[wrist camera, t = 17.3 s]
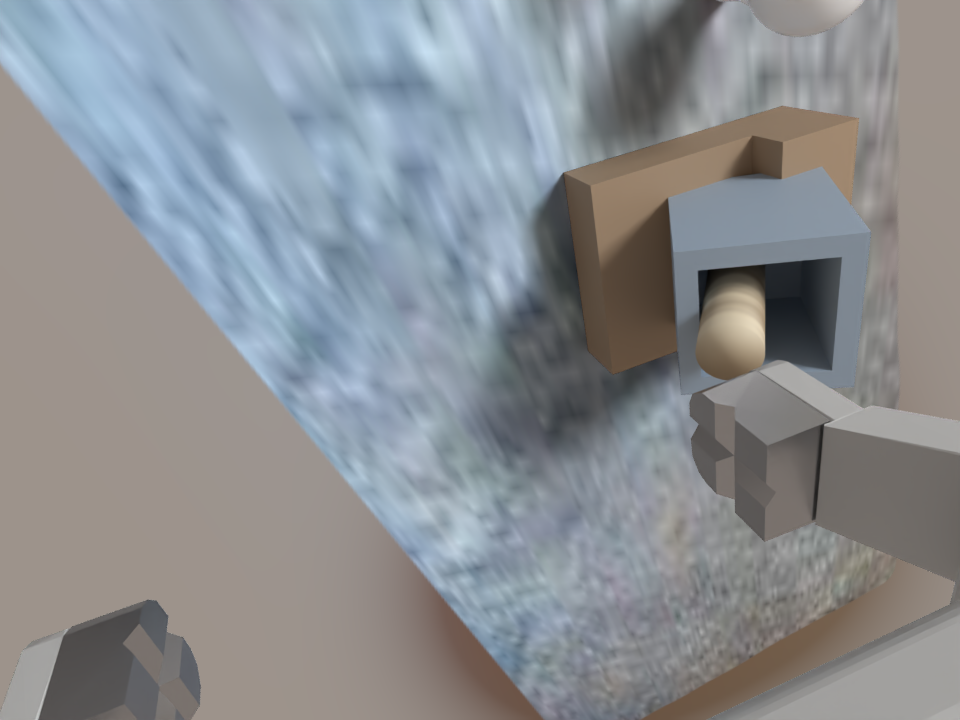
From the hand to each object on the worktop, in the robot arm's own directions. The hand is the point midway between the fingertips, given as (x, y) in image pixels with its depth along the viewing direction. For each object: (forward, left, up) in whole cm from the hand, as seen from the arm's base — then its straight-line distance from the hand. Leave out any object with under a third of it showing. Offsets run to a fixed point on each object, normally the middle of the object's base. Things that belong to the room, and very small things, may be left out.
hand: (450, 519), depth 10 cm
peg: (+13, +25, -27) cm, 39 cm away
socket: (+13, +24, -33) cm, 43 cm away
